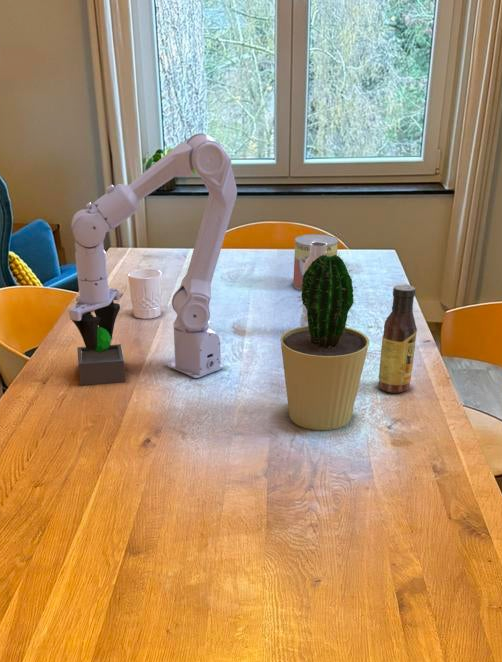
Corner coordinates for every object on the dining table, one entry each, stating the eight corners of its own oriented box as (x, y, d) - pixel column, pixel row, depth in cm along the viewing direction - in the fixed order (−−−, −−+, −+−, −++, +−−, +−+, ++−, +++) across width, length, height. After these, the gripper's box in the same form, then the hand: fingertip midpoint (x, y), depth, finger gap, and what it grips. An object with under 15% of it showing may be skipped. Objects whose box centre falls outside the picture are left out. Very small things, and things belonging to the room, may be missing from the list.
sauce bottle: (409, 395, 154) (422, 294, 143) (376, 393, 155) (387, 292, 144) (409, 382, 159) (422, 283, 148) (378, 379, 160) (388, 281, 149)
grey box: (122, 364, 168) (121, 344, 165) (125, 381, 160) (124, 360, 158) (79, 368, 166) (77, 347, 164) (80, 385, 159) (78, 363, 156)
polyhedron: (82, 352, 160) (79, 330, 157) (96, 344, 163) (94, 322, 161) (102, 357, 158) (100, 334, 155) (116, 348, 161) (114, 326, 159)
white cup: (148, 322, 189) (146, 280, 184) (124, 315, 193) (121, 274, 188) (170, 313, 195) (168, 272, 189) (146, 307, 199) (143, 266, 193)
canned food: (288, 290, 209) (290, 243, 202) (297, 277, 218) (299, 232, 211) (331, 293, 206) (334, 246, 200) (338, 281, 215) (341, 235, 209)
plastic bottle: (327, 328, 185) (333, 240, 174) (327, 338, 179) (333, 248, 169) (299, 327, 186) (303, 239, 175) (299, 337, 180) (303, 247, 169)
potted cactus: (367, 403, 151) (382, 241, 135) (356, 440, 138) (371, 267, 122) (287, 394, 154) (293, 236, 138) (269, 429, 142) (274, 260, 126)
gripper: (96, 264, 159) (102, 329, 167) (52, 284, 148) (61, 353, 156) (126, 268, 157) (131, 334, 164) (84, 289, 146) (91, 359, 153)
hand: (99, 344), depth 160 cm, fingers closed on polyhedron, 5 cm apart
